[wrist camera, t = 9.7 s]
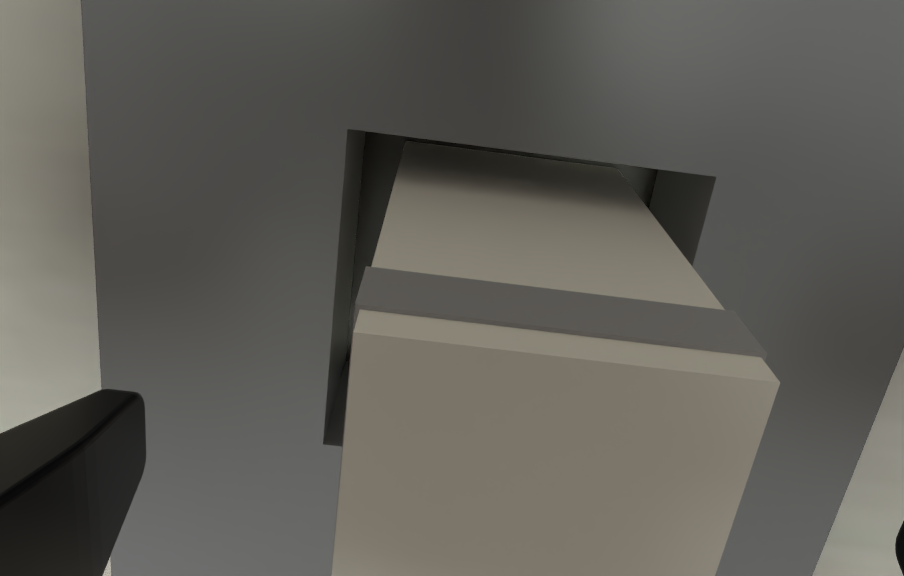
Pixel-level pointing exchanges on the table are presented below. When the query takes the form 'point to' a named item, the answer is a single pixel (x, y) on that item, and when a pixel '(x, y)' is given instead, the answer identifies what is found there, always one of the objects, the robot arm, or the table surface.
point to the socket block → (489, 125)
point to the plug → (539, 382)
